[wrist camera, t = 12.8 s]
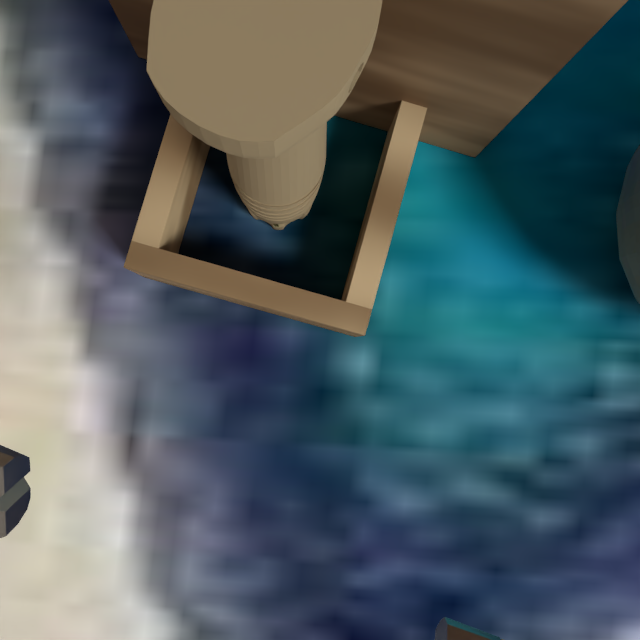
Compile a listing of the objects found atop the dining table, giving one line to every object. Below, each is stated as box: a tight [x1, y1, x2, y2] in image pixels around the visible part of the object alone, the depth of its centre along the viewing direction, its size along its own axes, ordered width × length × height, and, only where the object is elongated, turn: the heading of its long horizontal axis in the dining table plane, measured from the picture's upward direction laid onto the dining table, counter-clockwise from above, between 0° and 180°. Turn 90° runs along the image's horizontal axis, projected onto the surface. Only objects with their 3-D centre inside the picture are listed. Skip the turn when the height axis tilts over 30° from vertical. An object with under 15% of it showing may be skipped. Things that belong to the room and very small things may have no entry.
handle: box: [147, 0, 382, 230], centre depth 20 cm, size 5×6×15 cm
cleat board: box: [109, 0, 628, 337], centre depth 17 cm, size 13×18×20 cm
